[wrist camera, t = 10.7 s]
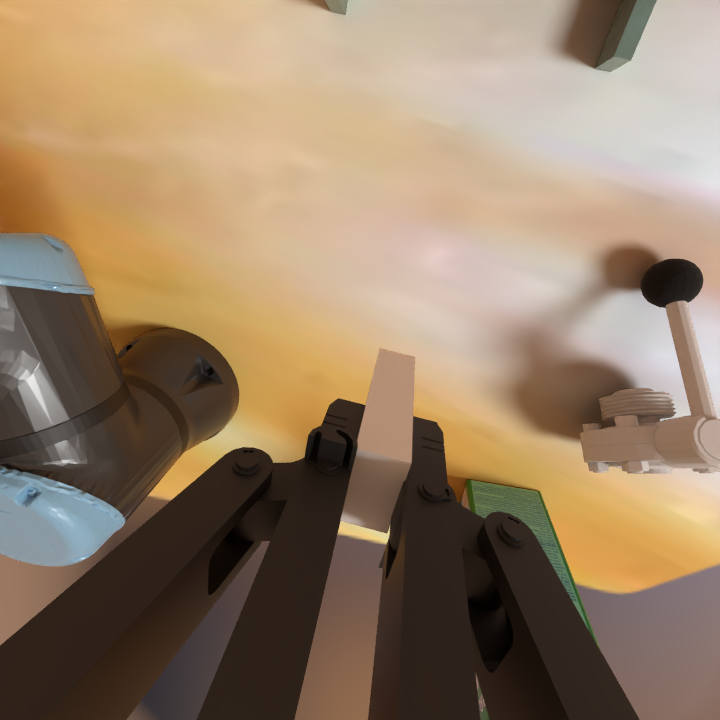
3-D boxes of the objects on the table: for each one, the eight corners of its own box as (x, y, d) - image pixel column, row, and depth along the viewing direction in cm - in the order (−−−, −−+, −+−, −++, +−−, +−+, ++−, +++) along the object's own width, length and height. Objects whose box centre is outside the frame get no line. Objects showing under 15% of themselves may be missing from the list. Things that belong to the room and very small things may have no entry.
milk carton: (467, 478, 48) (507, 738, 26) (540, 490, 47) (648, 771, 25) (453, 528, 52) (477, 791, 30) (520, 540, 51) (597, 821, 29)
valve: (567, 472, 41) (666, 473, 27) (545, 319, 46) (618, 250, 32) (666, 473, 40) (823, 474, 26) (633, 317, 45) (749, 246, 31)
